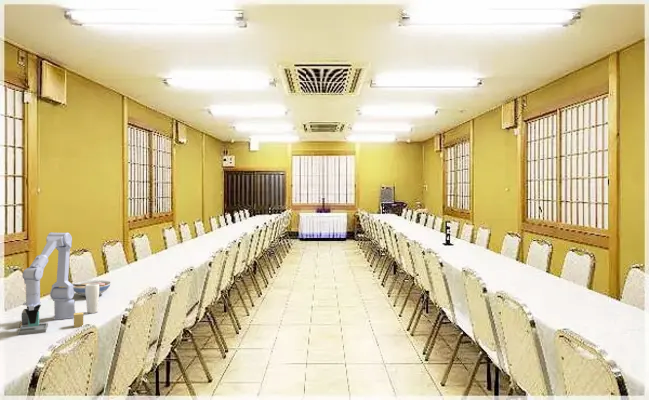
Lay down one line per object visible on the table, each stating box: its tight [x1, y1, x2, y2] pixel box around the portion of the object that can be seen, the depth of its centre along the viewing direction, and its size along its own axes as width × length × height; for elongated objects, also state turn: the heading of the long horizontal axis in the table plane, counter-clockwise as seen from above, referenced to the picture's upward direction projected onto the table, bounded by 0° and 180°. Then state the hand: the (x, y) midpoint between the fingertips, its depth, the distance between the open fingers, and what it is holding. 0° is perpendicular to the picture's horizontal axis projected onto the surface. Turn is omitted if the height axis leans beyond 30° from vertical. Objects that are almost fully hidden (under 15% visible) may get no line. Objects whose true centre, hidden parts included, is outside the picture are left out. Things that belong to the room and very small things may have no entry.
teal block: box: [28, 310, 40, 327], centre depth 231 cm, size 4×4×6 cm
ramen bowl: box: [72, 279, 112, 298], centre depth 304 cm, size 25×23×8 cm
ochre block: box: [73, 312, 84, 328], centre depth 239 cm, size 4×4×6 cm
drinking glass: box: [85, 283, 100, 314], centre depth 264 cm, size 7×7×15 cm
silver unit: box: [18, 308, 28, 329], centre depth 241 cm, size 7×10×7 cm
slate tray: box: [17, 322, 49, 336], centre depth 231 cm, size 11×11×2 cm
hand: (33, 322), depth 231 cm, fingers closed on teal block, 4 cm apart
